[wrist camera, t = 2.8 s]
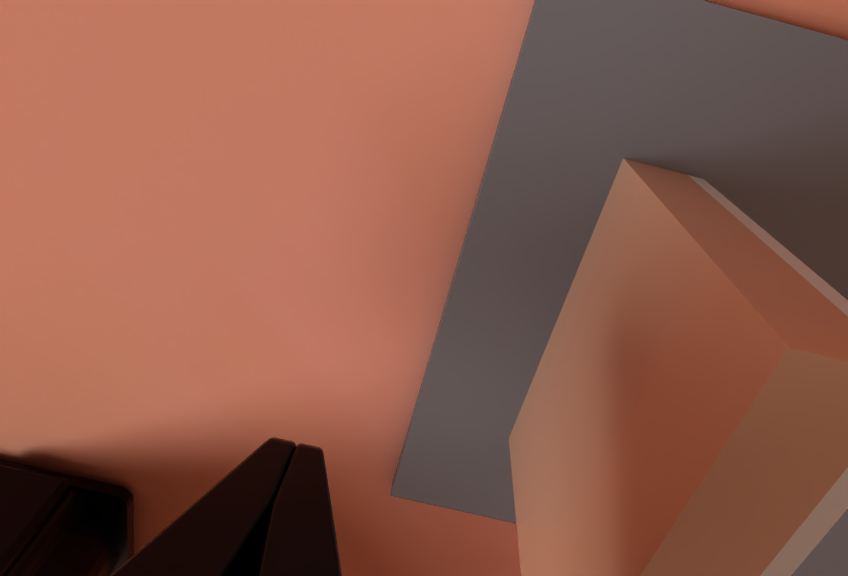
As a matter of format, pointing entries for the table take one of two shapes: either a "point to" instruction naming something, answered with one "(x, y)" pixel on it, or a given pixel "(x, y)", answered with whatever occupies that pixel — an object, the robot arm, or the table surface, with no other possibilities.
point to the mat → (588, 190)
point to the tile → (683, 398)
